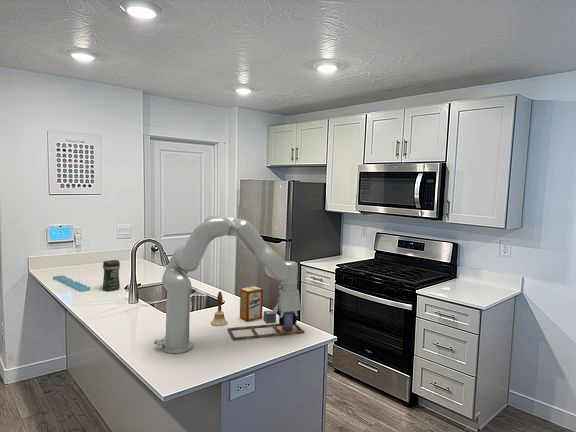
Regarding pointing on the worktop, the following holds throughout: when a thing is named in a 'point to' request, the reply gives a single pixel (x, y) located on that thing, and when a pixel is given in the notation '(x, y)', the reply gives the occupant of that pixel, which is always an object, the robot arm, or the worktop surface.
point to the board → (278, 330)
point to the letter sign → (72, 283)
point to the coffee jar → (111, 275)
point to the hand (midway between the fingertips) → (287, 323)
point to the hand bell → (219, 314)
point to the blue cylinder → (287, 321)
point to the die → (269, 317)
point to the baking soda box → (251, 303)
